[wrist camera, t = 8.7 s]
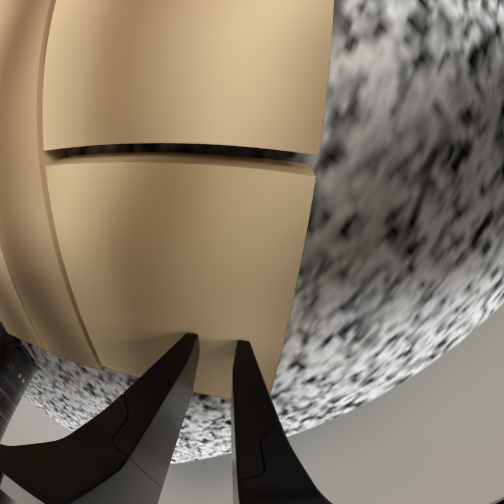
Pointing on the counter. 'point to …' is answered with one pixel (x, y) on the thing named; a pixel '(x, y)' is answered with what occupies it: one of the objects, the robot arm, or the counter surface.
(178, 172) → the oak plank
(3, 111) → the laid floor row
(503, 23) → the counter surface
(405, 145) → the counter surface
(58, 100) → the oak plank
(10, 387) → the supplement bottle
